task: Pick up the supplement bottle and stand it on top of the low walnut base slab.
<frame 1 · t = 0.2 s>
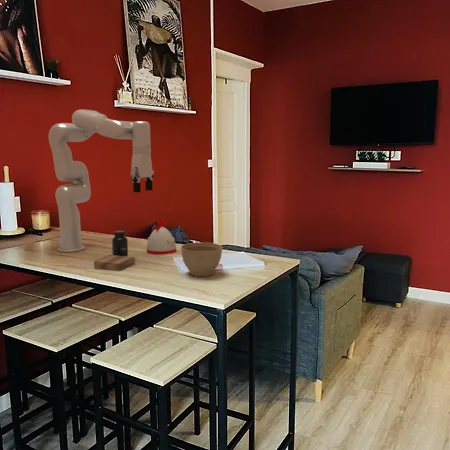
hand: (143, 191, 199), 30 cm above the table, tool pointing down, fingers open, 9 cm apart
planter bowl: (201, 274, 182), on the table
supplement bottle: (120, 258, 208), on the table
base block: (114, 266, 193), on the table
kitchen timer: (161, 251, 221), on the table
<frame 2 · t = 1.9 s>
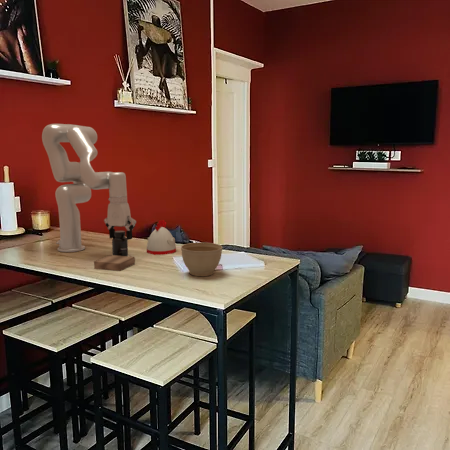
hand: (120, 238, 207), 9 cm above the table, tool pointing down, fingers open, 9 cm apart
nothing on the table moved.
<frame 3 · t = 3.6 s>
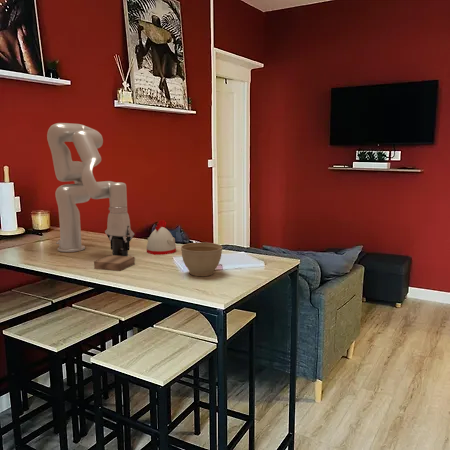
hand: (120, 249, 208), 4 cm above the table, tool pointing down, fingers closed on supplement bottle, 6 cm apart
supplement bottle: (120, 258, 208), on the table, touching gripper
everything else where it was.
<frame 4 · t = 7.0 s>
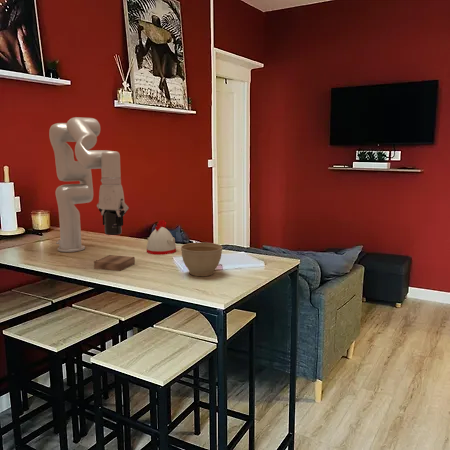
hand: (113, 224, 191), 17 cm above the table, tool pointing down, fingers closed on supplement bottle, 6 cm apart
supplement bottle: (113, 234, 191), point 14 cm above the table, touching gripper
everything else where it was.
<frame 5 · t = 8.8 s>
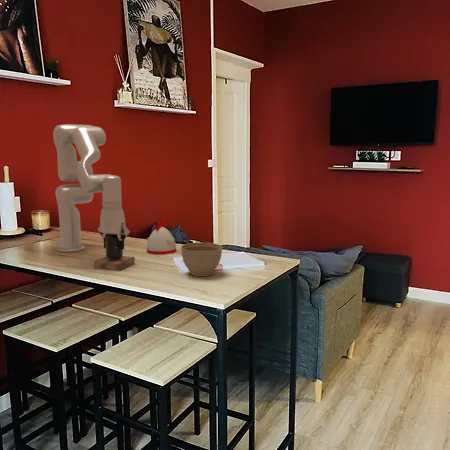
hand: (114, 248, 192), 8 cm above the table, tool pointing down, fingers closed on supplement bottle, 6 cm apart
supplement bottle: (114, 257, 193), point 4 cm above the table, touching gripper
everything else where it was.
when the fingers open (7 cm above the table, at t = 10.4 s): supplement bottle stays where it is, resting on base block.
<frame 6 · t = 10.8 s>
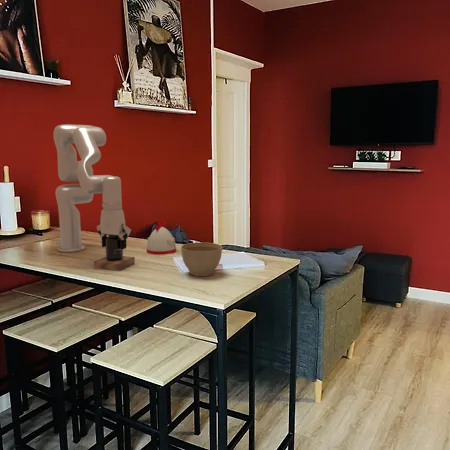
hand: (114, 247, 192), 8 cm above the table, tool pointing down, fingers open, 9 cm apart
supplement bottle: (114, 259, 193), point 3 cm above the table, touching base block
everything else where it was.
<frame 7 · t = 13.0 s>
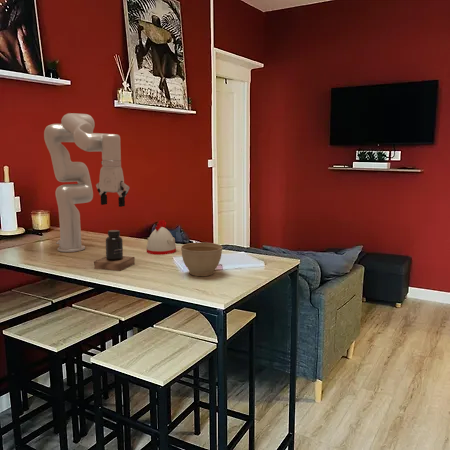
hand: (112, 205, 194), 25 cm above the table, tool pointing down, fingers open, 9 cm apart
nothing on the table moved.
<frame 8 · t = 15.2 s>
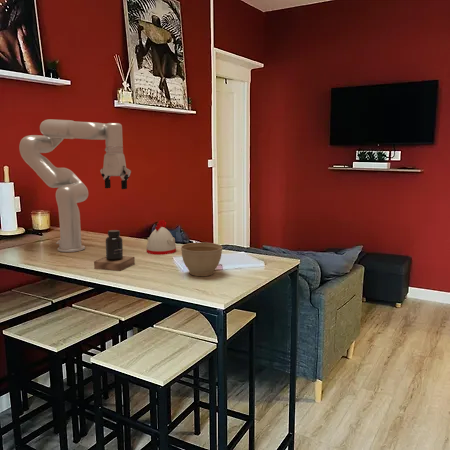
hand: (116, 188, 213), 30 cm above the table, tool pointing down, fingers open, 9 cm apart
nothing on the table moved.
at the end: supplement bottle inside the target area on the base block (0.1 cm from its centre), point 2.8 cm above the base block's base; supplement bottle tilted 0°; the gripper is holding nothing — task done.
